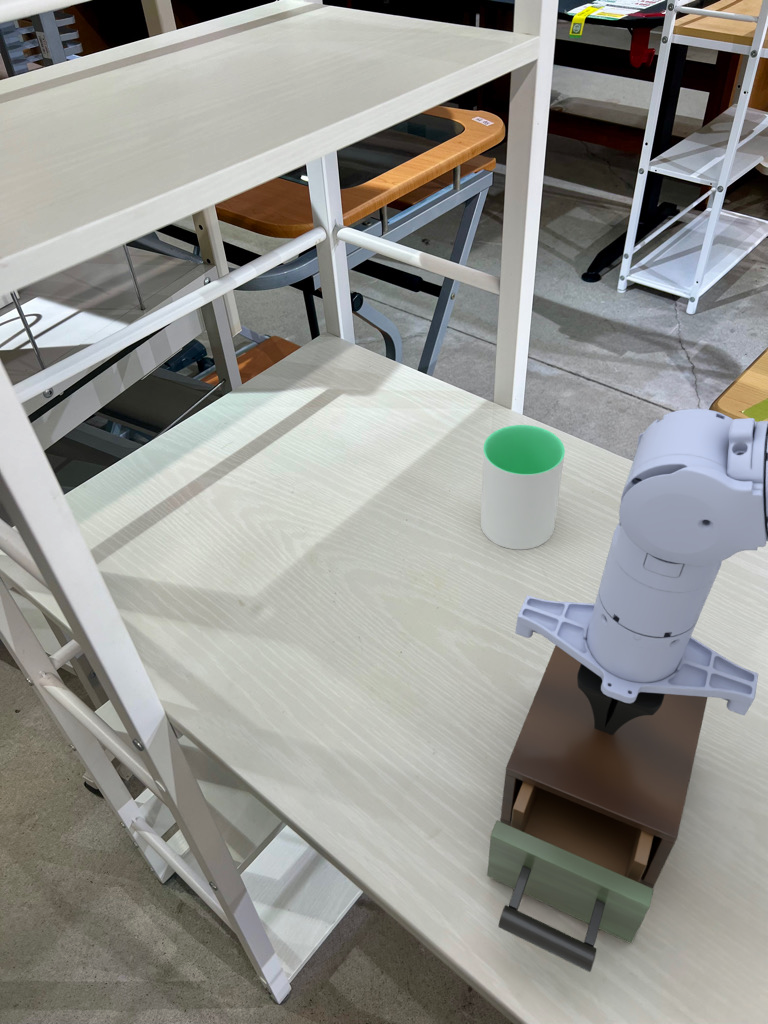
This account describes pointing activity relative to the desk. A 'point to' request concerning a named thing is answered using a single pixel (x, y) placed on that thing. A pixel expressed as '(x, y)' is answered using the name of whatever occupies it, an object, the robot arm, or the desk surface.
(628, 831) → the drawer
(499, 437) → the mug
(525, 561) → the desk surface
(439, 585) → the desk surface
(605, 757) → the cabinet
